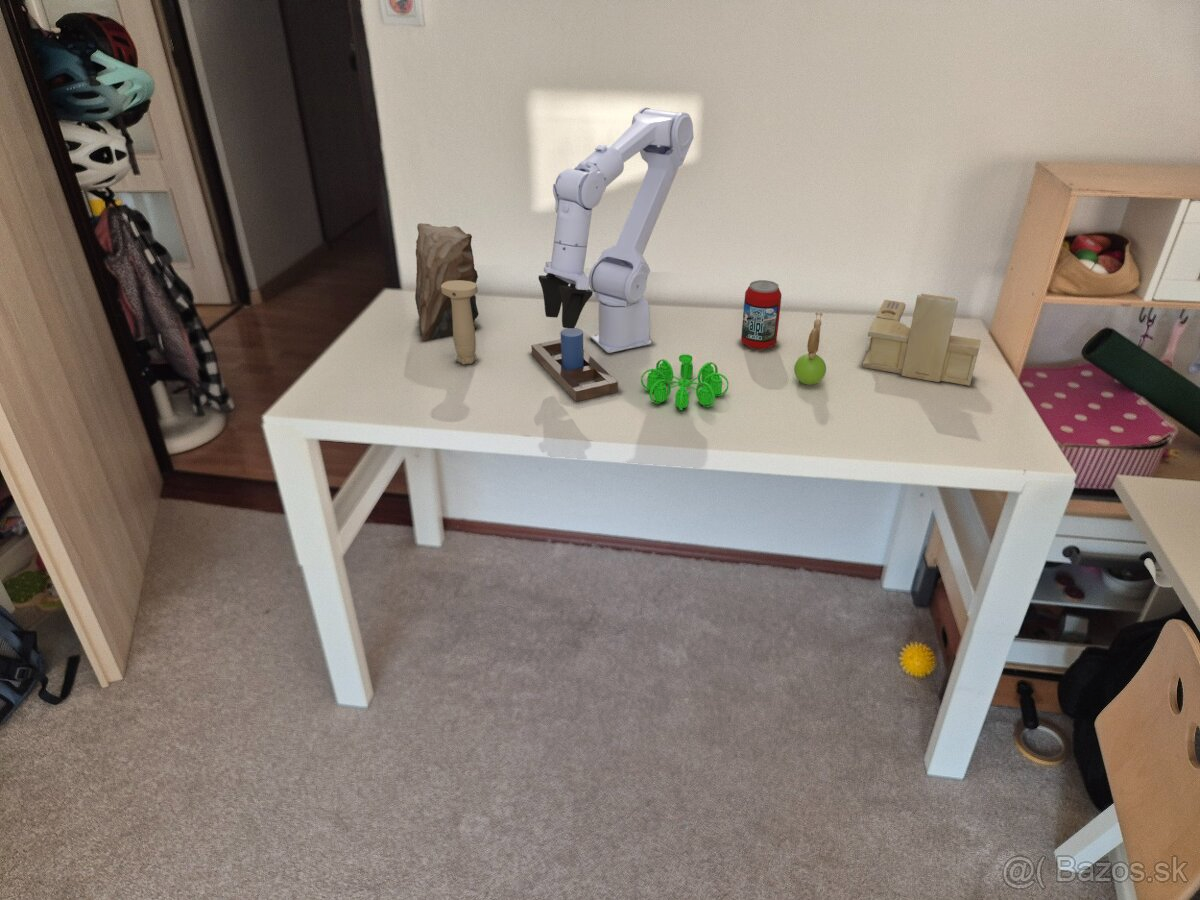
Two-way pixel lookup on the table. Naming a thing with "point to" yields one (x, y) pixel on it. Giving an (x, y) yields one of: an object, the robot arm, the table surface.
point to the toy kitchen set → (921, 342)
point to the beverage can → (761, 314)
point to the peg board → (575, 372)
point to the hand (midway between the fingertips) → (559, 322)
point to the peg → (572, 348)
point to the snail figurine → (811, 359)
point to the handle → (462, 318)
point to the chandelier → (684, 382)
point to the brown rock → (441, 276)
